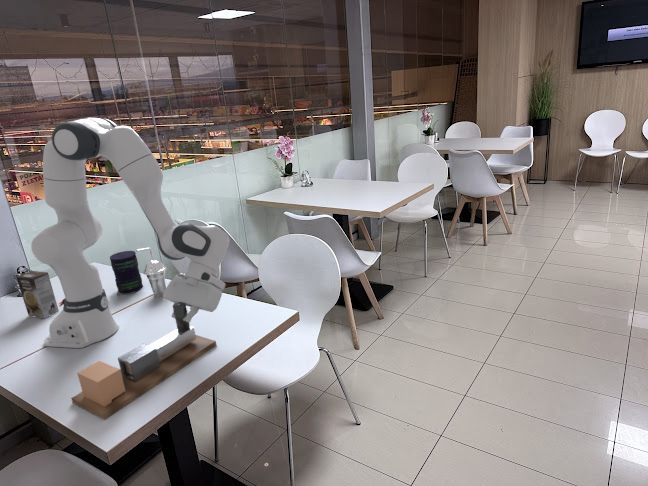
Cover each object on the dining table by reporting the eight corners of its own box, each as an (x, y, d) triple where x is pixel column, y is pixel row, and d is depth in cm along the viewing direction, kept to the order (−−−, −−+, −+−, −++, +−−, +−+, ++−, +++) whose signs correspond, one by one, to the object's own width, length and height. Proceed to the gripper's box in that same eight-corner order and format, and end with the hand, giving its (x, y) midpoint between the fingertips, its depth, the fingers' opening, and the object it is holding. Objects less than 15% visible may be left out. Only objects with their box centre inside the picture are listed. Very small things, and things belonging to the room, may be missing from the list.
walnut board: (185, 335, 146) (184, 331, 146) (216, 345, 139) (215, 340, 138) (72, 403, 117) (71, 398, 117) (104, 419, 110) (102, 414, 109)
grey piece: (187, 336, 141) (179, 300, 137) (196, 339, 138) (188, 303, 135) (126, 372, 124) (116, 333, 120) (136, 376, 122) (126, 336, 118)
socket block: (105, 383, 122) (99, 360, 120) (126, 392, 117) (119, 369, 115) (84, 396, 117) (77, 372, 115) (104, 406, 112) (97, 382, 110)
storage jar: (147, 287, 189) (140, 253, 184) (124, 296, 182) (116, 260, 178) (136, 282, 195) (128, 249, 191) (113, 290, 189) (105, 256, 184)
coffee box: (27, 316, 172) (14, 276, 167) (43, 308, 177) (31, 270, 172) (44, 319, 168) (32, 278, 163) (60, 311, 174) (48, 271, 169)
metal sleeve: (147, 361, 130) (143, 343, 129) (160, 366, 127) (156, 348, 125) (122, 377, 124) (117, 358, 122) (135, 382, 121) (130, 363, 119)
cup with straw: (171, 295, 178) (160, 247, 172) (146, 300, 176) (135, 251, 170) (171, 287, 186) (161, 240, 180) (148, 292, 184) (137, 244, 178)
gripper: (169, 268, 143) (149, 309, 138) (216, 277, 132) (196, 323, 127) (183, 276, 148) (164, 316, 143) (229, 285, 137) (211, 329, 132)
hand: (180, 319), depth 135 cm, fingers closed on grey piece, 4 cm apart
